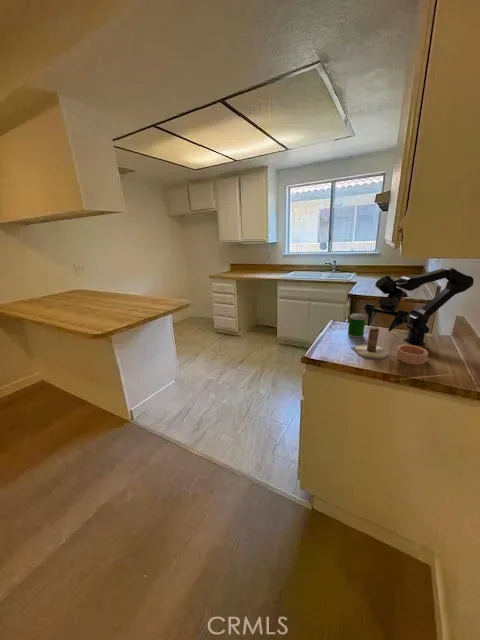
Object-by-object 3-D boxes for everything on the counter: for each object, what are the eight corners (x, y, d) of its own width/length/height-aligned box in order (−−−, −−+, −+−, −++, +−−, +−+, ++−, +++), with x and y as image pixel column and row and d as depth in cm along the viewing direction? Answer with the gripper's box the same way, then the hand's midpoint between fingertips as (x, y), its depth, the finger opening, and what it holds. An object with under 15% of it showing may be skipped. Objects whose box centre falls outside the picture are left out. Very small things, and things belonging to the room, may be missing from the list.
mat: (349, 348, 125) (349, 347, 125) (375, 346, 126) (375, 345, 126) (365, 361, 112) (365, 360, 112) (393, 359, 114) (393, 357, 114)
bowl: (389, 354, 118) (391, 345, 116) (412, 352, 119) (414, 343, 118) (407, 366, 107) (409, 356, 106) (432, 364, 109) (434, 354, 107)
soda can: (361, 340, 134) (364, 317, 130) (345, 337, 138) (348, 315, 134) (364, 335, 139) (367, 314, 135) (350, 332, 144) (352, 311, 140)
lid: (349, 347, 125) (352, 324, 121) (375, 345, 126) (379, 322, 122) (365, 360, 112) (369, 335, 109) (393, 357, 114) (398, 332, 110)
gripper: (368, 286, 123) (353, 314, 120) (413, 293, 109) (397, 324, 106) (374, 300, 130) (360, 326, 127) (416, 307, 116) (402, 337, 114)
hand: (378, 328), depth 118 cm, fingers open, 9 cm apart
